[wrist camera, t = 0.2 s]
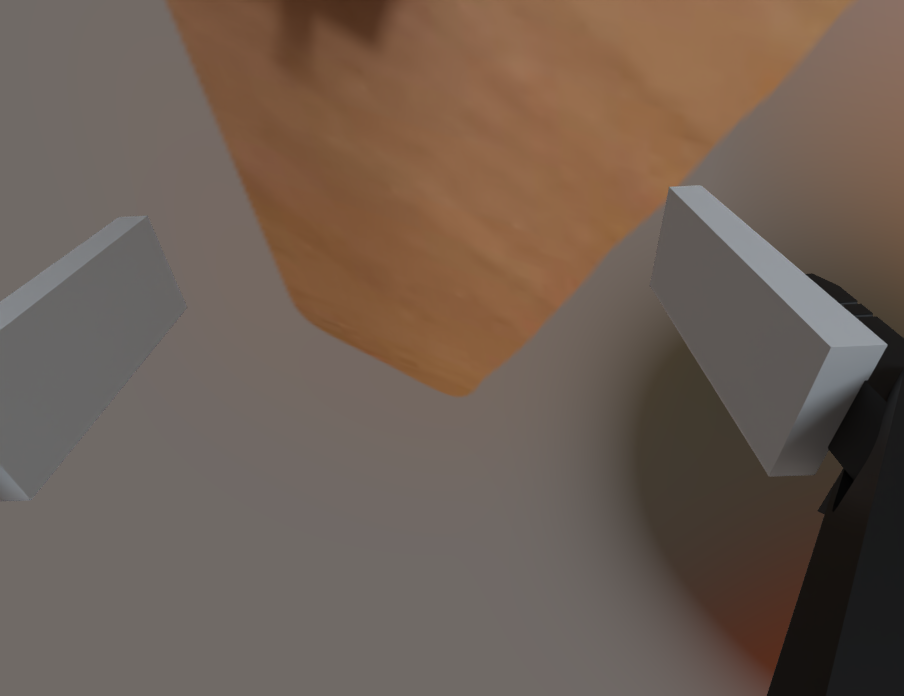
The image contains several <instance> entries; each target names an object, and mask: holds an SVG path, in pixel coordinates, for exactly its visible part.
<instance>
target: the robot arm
mask: <svg viewBox="0 0 904 696" xmlns="http://www.w3.org/2000/svg"><path fill="white" fill-rule="evenodd" d="M650 287H651V289H652V290H653V292H654V293H655V295H656V297H657V298H658V300H659V301H660V303H661V305H662V306H663V308H664V309H665V311H666V313H667V314H668V316H669V317H670V319H671V320H672V322H673V324H674V325H675V327H676V329H677V330H678V332H679V333H680V335H681V336H682V338H683V340H684V341H685V343H686V345H687V346H688V348H689V349H690V351H691V352H692V354H693V356H694V357H695V359H696V360H697V362H698V364H699V365H700V367H701V368H702V370H703V371H704V373H705V375H706V376H707V378H708V380H709V381H710V383H711V384H712V386H713V388H714V389H715V391H716V392H717V394H718V395H719V397H720V399H721V400H722V402H723V404H724V405H725V407H726V408H727V410H728V412H729V413H730V415H731V416H732V418H733V420H734V421H735V423H736V424H737V426H738V428H739V429H740V431H741V432H742V434H743V436H744V437H745V439H746V440H747V442H748V444H749V445H750V447H751V448H752V450H753V452H754V453H755V455H756V456H757V458H758V459H759V461H760V463H761V464H762V466H763V468H764V469H765V471H766V472H767V474H768V475H769V476H796V475H815V474H816V472H817V470H818V468H819V466H820V465H821V463H822V461H823V459H824V458H825V456H826V454H827V452H828V451H829V450H830V451H831V453H832V454H833V455H834V456H835V458H836V459H837V460H838V461H839V463H840V464H841V465H842V467H843V470H842V472H841V473H840V475H839V477H838V478H837V480H836V482H835V483H834V485H833V487H832V488H831V490H830V491H829V493H828V495H827V496H826V498H825V500H824V501H823V503H822V505H821V506H820V508H819V510H818V511H819V512H821V513H823V514H825V515H824V518H823V521H822V524H821V528H820V531H819V534H818V537H817V540H816V543H815V547H814V549H813V553H812V556H811V559H810V562H809V565H808V568H807V572H806V575H805V578H804V581H803V584H802V587H801V590H800V594H799V597H798V600H797V603H796V606H795V609H794V612H793V615H792V618H791V622H790V625H789V628H788V631H787V634H786V637H785V641H784V644H783V647H782V650H781V653H780V656H779V659H778V663H777V665H776V669H775V672H774V675H773V678H772V681H771V684H770V687H769V691H768V694H767V696H904V338H903V337H901V336H900V335H899V334H897V333H896V332H895V331H894V330H893V329H891V328H890V327H889V326H888V325H887V324H885V323H884V322H883V321H882V320H880V319H879V318H878V317H873V313H872V312H870V311H869V310H868V309H867V308H866V307H864V306H863V305H862V304H857V300H856V299H854V298H853V297H852V296H851V295H850V294H848V293H847V292H846V291H844V290H843V289H842V288H841V287H840V286H838V285H836V284H834V283H832V282H829V281H827V280H825V279H823V278H821V277H819V276H816V275H814V274H804V273H803V272H802V271H801V270H799V269H798V268H797V267H796V266H795V265H794V264H792V263H791V262H790V261H789V260H788V259H787V258H786V257H784V256H783V255H782V254H781V253H780V252H778V251H777V250H776V249H775V248H774V247H773V246H771V245H770V244H769V243H768V242H767V241H766V240H764V239H763V238H762V237H761V236H760V235H759V234H757V233H756V232H755V231H754V230H753V229H752V228H750V227H749V226H748V225H747V224H745V222H743V221H742V220H741V219H740V218H739V217H737V216H736V215H735V214H734V213H733V212H732V211H730V210H729V209H728V208H727V207H726V206H725V205H723V204H722V203H721V202H720V201H719V200H717V199H716V198H715V197H714V196H713V195H712V194H710V193H709V192H708V191H707V190H706V189H705V188H704V187H702V186H701V185H697V186H679V187H669V190H668V195H667V200H666V206H665V211H664V216H663V221H662V226H661V231H660V236H659V241H658V246H657V251H656V257H655V261H654V266H653V272H652V276H651V281H650ZM186 309H187V305H186V303H185V301H184V298H183V296H182V294H181V292H180V289H179V287H178V285H177V282H176V280H175V278H174V275H173V273H172V271H171V268H170V266H169V264H168V262H167V259H166V257H165V255H164V252H163V250H162V248H161V245H160V243H159V241H158V238H157V236H156V234H155V232H154V229H153V227H152V224H151V222H150V220H149V218H148V216H131V217H118V218H117V219H115V220H114V221H112V222H111V223H110V224H108V225H107V226H105V227H104V228H103V229H101V230H100V231H98V232H97V233H96V234H94V235H93V236H91V237H90V238H89V239H87V240H86V241H85V242H83V243H82V244H80V245H79V246H77V247H76V248H75V249H73V250H72V251H71V252H69V253H68V254H66V255H65V256H63V257H62V258H61V259H59V260H58V261H57V262H55V263H54V264H52V265H51V266H49V267H48V268H47V269H45V270H44V271H42V272H41V273H40V274H38V275H37V276H35V277H34V278H33V279H31V280H30V281H28V282H27V283H26V284H24V285H23V286H22V287H20V288H19V289H18V290H16V291H14V292H13V293H12V294H10V295H9V296H7V297H6V298H5V299H3V300H2V301H0V501H21V500H32V498H33V497H34V496H35V495H36V494H37V492H38V491H39V490H40V489H41V487H42V486H43V485H44V484H45V483H46V481H47V480H48V479H49V478H50V476H51V475H52V474H53V473H54V471H55V470H56V469H57V467H58V466H59V465H60V464H61V463H62V462H63V460H64V459H65V458H66V457H67V455H68V454H69V453H70V452H71V450H72V449H73V448H74V447H75V445H76V444H77V443H78V442H79V441H80V439H81V438H82V437H83V436H84V434H85V433H86V432H87V431H88V429H89V428H90V427H91V426H92V425H93V423H94V422H95V421H96V420H97V418H98V417H99V416H100V415H101V413H102V412H103V411H104V410H105V408H106V407H107V406H108V405H109V404H110V402H111V401H112V400H113V398H114V397H115V396H116V395H117V394H118V392H119V391H120V390H121V389H122V387H123V386H124V385H125V384H126V383H127V381H128V380H129V379H130V378H131V376H132V375H133V374H134V373H135V371H136V370H137V369H138V367H139V366H140V365H141V364H142V363H143V362H144V360H145V359H146V358H147V357H148V355H149V354H150V353H151V352H152V350H153V349H154V348H155V347H156V346H157V344H158V343H159V342H160V341H161V339H162V338H163V337H164V336H165V334H166V333H167V332H168V331H169V329H170V328H171V327H172V326H173V324H174V323H175V322H176V321H177V320H178V318H179V317H180V316H181V315H182V313H183V312H184V311H185V310H186Z"/></svg>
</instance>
